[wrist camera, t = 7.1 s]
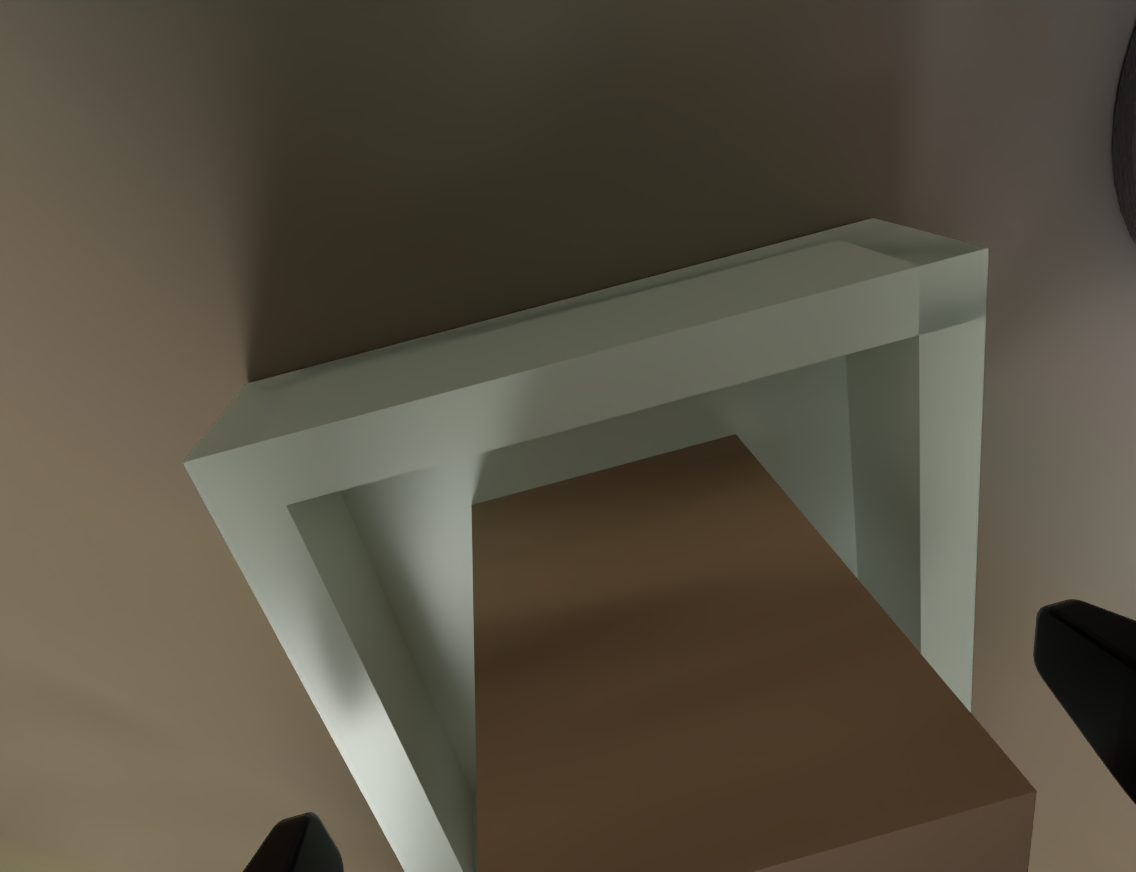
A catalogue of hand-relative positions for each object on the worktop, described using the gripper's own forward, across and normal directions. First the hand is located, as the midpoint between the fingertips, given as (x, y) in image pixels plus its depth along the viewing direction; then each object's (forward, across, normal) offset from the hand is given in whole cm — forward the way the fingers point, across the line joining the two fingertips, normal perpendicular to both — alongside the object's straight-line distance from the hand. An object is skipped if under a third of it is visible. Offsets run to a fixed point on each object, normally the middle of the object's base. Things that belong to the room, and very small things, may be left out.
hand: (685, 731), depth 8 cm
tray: (+4, 0, 0) cm, 4 cm away
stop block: (+3, 0, 0) cm, 3 cm away
